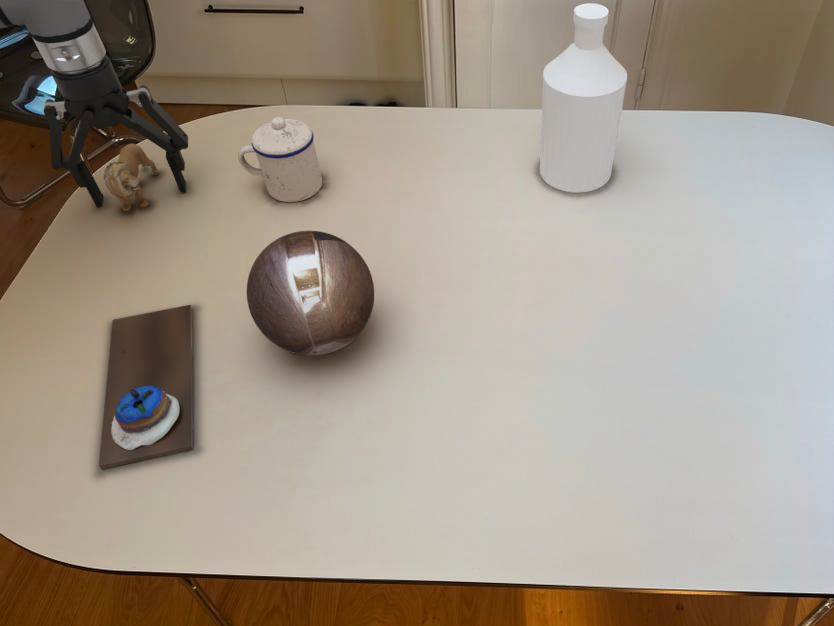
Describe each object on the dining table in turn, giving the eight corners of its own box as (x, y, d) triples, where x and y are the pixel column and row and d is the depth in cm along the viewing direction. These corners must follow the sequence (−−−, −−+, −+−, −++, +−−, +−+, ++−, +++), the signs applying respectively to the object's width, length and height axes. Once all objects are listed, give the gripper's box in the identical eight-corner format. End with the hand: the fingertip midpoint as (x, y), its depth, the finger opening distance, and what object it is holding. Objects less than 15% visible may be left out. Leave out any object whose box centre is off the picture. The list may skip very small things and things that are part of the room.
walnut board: (101, 469, 79) (98, 466, 78) (115, 323, 93) (112, 319, 92) (193, 449, 80) (191, 445, 80) (192, 308, 95) (190, 304, 94)
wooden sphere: (293, 399, 85) (261, 314, 73) (247, 323, 93) (211, 235, 81) (402, 345, 90) (388, 258, 78) (349, 277, 98) (329, 189, 86)
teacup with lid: (327, 168, 114) (313, 102, 105) (320, 203, 108) (303, 137, 99) (254, 169, 114) (233, 104, 105) (242, 205, 108) (219, 139, 99)
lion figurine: (155, 220, 107) (131, 170, 100) (119, 226, 106) (92, 176, 99) (160, 164, 116) (139, 115, 109) (127, 169, 115) (103, 120, 108)
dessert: (159, 376, 85) (154, 369, 80) (193, 420, 86) (190, 416, 80) (97, 417, 82) (88, 412, 77) (133, 461, 83) (126, 460, 77)
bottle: (527, 183, 110) (533, 23, 91) (552, 142, 117) (562, -15, 98) (600, 200, 107) (622, 38, 88) (621, 158, 114) (646, -1, 95)
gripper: (-25, 89, 89) (58, 223, 106) (171, 61, 93) (221, 195, 110) (-14, 61, 94) (63, 193, 111) (172, 35, 98) (220, 167, 114)
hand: (142, 194), depth 110 cm, fingers open, 12 cm apart
